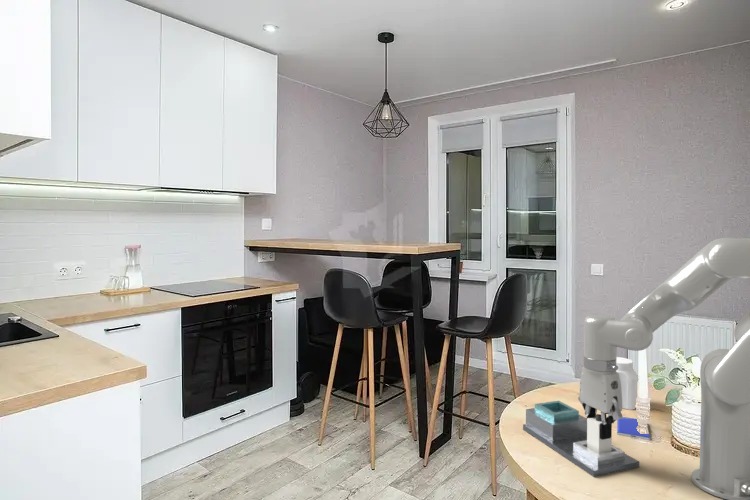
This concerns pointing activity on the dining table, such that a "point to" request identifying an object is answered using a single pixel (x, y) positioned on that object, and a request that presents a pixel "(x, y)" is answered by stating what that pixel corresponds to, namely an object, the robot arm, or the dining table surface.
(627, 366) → the jar
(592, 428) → the plug
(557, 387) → the dining table surface
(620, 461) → the grey desk organizer
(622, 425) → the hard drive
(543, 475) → the dining table surface
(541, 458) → the dining table surface
